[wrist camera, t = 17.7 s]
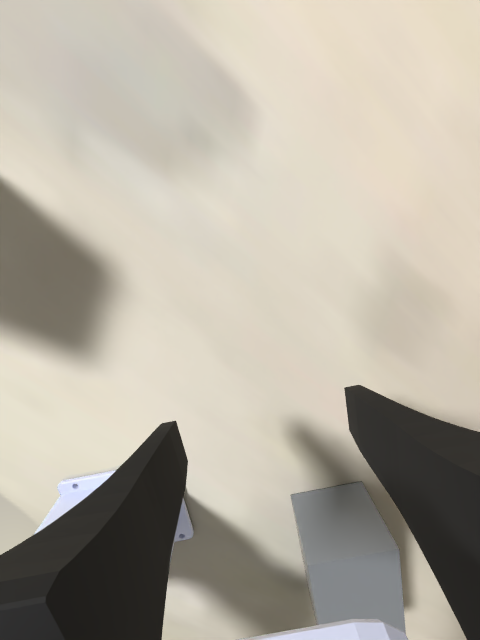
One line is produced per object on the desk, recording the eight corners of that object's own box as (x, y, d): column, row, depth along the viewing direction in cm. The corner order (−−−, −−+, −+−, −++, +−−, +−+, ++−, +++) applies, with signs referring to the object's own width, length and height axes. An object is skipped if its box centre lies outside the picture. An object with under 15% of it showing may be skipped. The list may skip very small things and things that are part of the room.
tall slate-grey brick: (308, 590, 27) (328, 675, 22) (290, 494, 24) (307, 565, 19) (372, 578, 27) (407, 661, 22) (361, 481, 24) (399, 548, 19)
